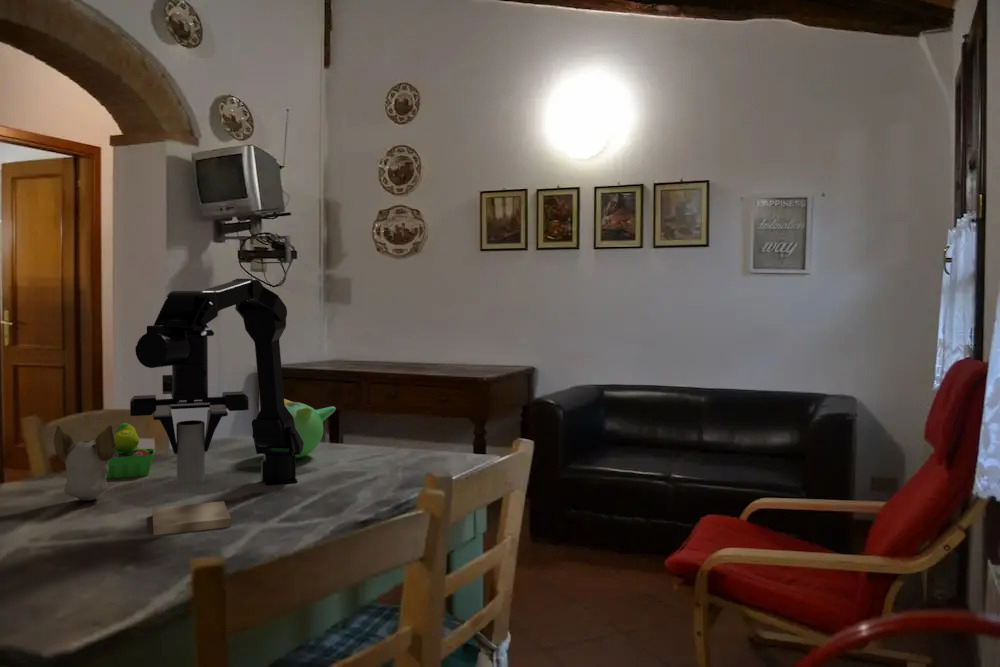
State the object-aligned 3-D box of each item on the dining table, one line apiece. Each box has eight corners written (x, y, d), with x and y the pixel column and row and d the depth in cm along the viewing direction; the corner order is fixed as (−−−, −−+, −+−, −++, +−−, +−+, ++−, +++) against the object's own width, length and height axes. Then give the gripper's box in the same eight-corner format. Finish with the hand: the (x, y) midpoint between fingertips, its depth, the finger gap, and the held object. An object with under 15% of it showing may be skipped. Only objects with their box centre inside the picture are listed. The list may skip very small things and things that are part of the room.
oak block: (223, 511, 138) (223, 501, 138) (231, 529, 127) (231, 518, 127) (152, 519, 133) (152, 508, 133) (153, 538, 122) (153, 526, 122)
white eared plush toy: (125, 495, 147) (125, 420, 146) (110, 507, 138) (109, 427, 138) (67, 497, 145) (66, 420, 145) (48, 509, 137) (47, 428, 136)
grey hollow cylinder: (194, 484, 127) (194, 424, 127) (171, 483, 128) (170, 423, 128) (210, 478, 132) (209, 420, 131) (187, 477, 133) (186, 419, 132)
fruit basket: (94, 482, 158) (94, 429, 158) (98, 473, 166) (98, 423, 166) (154, 477, 163) (153, 426, 162) (155, 469, 171) (154, 420, 170)
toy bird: (275, 450, 195) (275, 394, 194) (337, 452, 192) (337, 395, 192) (242, 464, 177) (242, 402, 176) (310, 467, 174) (310, 404, 174)
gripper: (241, 358, 140) (241, 440, 141) (130, 361, 132) (131, 448, 133) (248, 363, 130) (249, 451, 131) (129, 366, 122) (130, 460, 123)
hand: (190, 452), depth 130 cm, fingers closed on grey hollow cylinder, 4 cm apart
